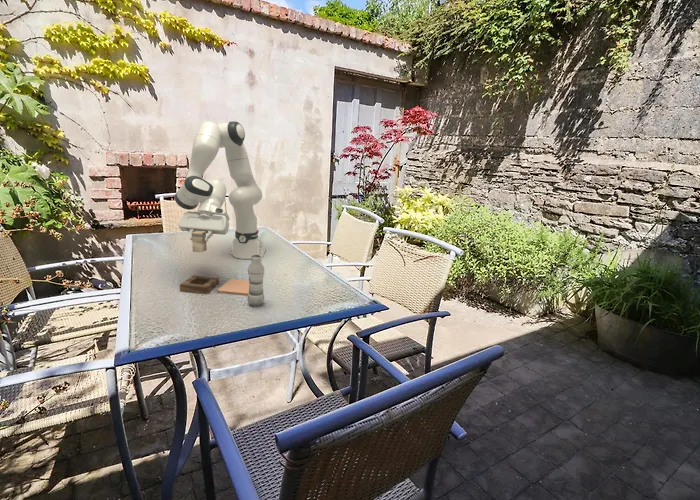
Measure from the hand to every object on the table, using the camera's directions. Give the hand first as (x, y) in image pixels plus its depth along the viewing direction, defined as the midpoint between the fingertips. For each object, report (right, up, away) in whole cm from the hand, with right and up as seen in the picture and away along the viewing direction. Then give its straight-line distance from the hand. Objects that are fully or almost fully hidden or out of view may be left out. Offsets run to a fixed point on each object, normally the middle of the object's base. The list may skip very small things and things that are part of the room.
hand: (198, 240), depth 145 cm
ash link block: (0, -4, +2) cm, 5 cm away
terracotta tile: (+14, -21, +9) cm, 27 cm away
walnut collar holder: (-2, -20, +6) cm, 21 cm away
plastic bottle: (+25, -26, -5) cm, 36 cm away
